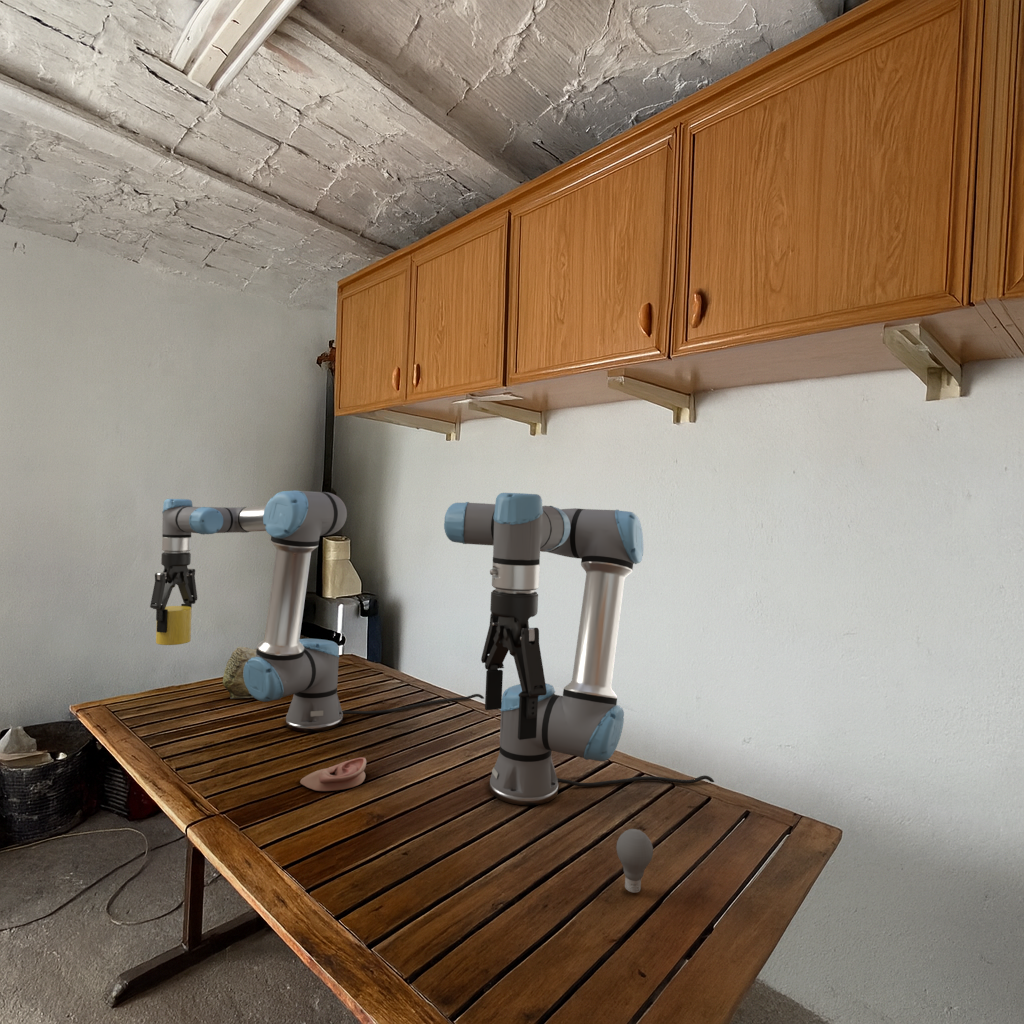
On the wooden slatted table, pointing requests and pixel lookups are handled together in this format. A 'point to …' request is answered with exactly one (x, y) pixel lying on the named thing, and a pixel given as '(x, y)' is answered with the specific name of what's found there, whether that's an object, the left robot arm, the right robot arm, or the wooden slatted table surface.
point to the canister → (176, 626)
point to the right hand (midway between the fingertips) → (508, 722)
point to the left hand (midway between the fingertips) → (173, 628)
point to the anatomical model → (337, 776)
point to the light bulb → (634, 857)
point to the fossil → (237, 672)
